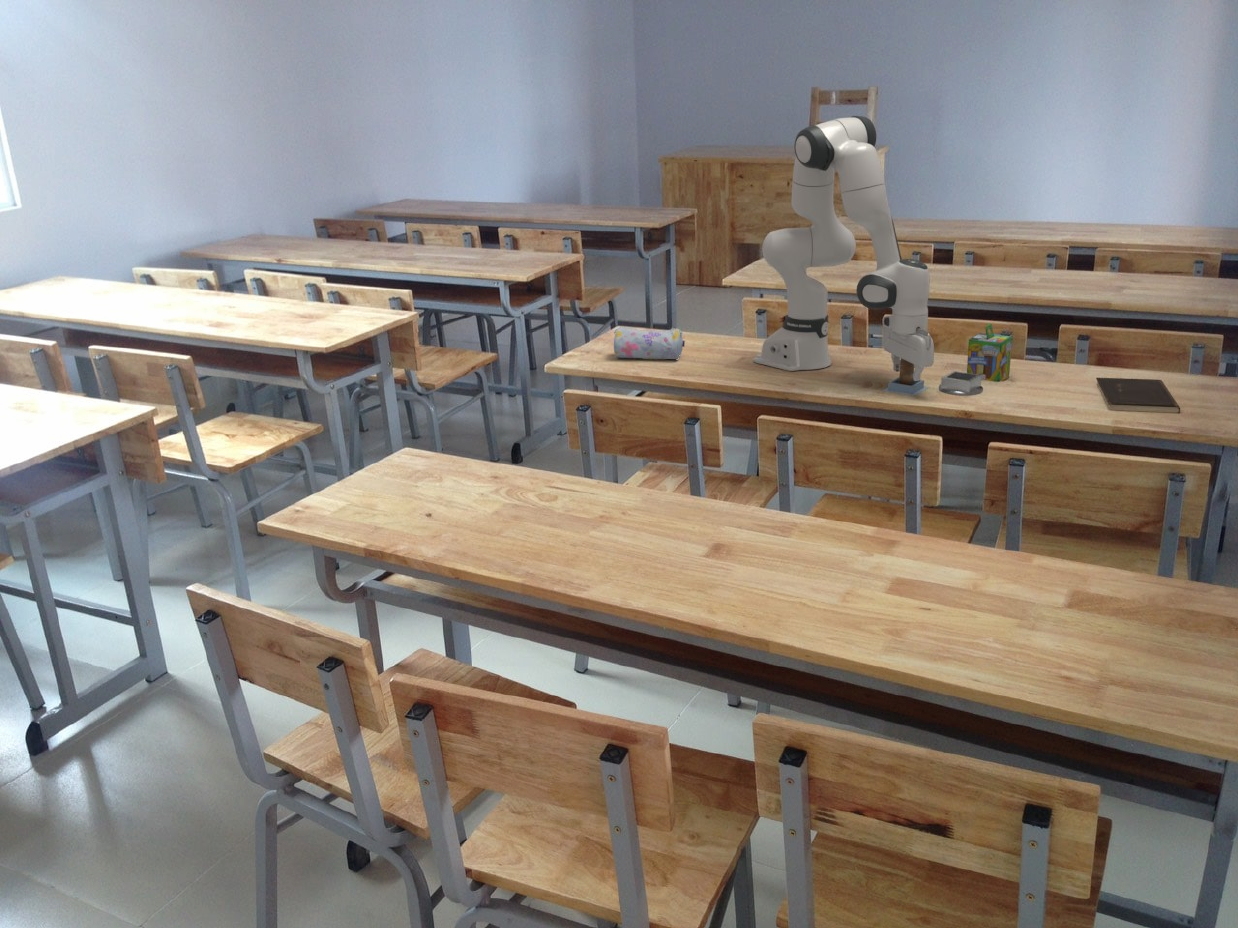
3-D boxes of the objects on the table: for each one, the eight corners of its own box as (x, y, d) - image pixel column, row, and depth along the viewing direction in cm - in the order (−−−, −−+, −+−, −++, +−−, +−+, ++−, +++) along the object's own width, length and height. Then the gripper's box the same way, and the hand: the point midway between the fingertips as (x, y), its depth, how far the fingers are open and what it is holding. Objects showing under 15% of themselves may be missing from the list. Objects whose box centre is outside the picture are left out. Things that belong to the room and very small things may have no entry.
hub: (931, 394, 281) (932, 378, 279) (948, 384, 289) (950, 368, 287) (972, 401, 274) (974, 384, 273) (989, 391, 282) (990, 374, 281)
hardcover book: (1107, 412, 264) (1108, 403, 264) (1095, 385, 285) (1096, 377, 284) (1179, 415, 260) (1180, 406, 259) (1161, 388, 281) (1162, 379, 280)
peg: (896, 389, 283) (898, 358, 280) (902, 386, 286) (904, 355, 283) (909, 391, 281) (911, 360, 278) (915, 388, 284) (917, 357, 281)
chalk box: (998, 385, 286) (1003, 331, 281) (964, 380, 292) (969, 327, 287) (1010, 377, 293) (1015, 323, 288) (977, 372, 299) (981, 320, 293)
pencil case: (685, 356, 327) (684, 325, 324) (680, 363, 319) (680, 332, 316) (617, 354, 331) (616, 324, 328) (611, 362, 324) (610, 331, 320)
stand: (881, 394, 283) (882, 383, 282) (897, 385, 290) (897, 374, 289) (914, 399, 278) (914, 388, 277) (929, 390, 284) (929, 379, 283)
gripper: (942, 331, 269) (938, 384, 273) (900, 314, 287) (898, 364, 292) (919, 333, 267) (916, 387, 272) (879, 316, 286) (876, 367, 290)
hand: (906, 375), depth 282 cm, fingers open, 8 cm apart
